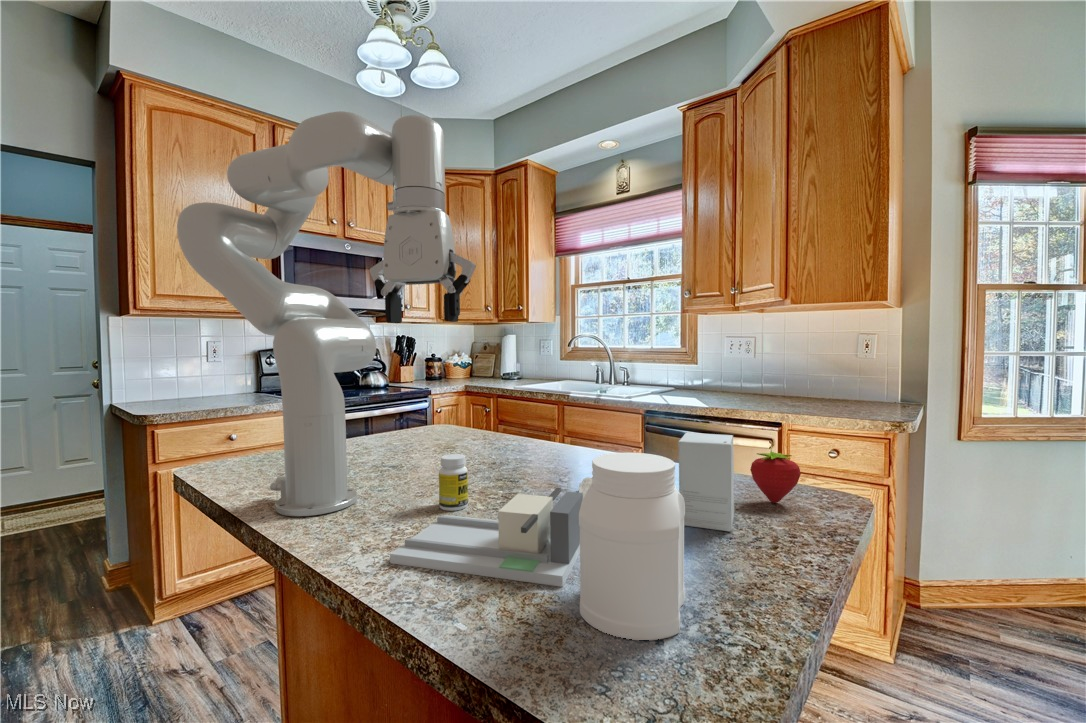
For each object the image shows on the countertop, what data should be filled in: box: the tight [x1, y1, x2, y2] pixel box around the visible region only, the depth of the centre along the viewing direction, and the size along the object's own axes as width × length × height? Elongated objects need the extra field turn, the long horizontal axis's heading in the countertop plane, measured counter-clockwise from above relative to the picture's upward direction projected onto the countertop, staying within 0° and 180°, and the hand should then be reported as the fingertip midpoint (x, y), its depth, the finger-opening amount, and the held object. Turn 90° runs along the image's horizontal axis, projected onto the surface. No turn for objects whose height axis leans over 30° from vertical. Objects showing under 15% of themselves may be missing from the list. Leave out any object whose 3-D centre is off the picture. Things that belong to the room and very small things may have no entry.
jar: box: [579, 452, 686, 641], centre depth 50 cm, size 12×10×15 cm
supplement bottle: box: [438, 453, 469, 512], centre depth 81 cm, size 5×5×8 cm
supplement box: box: [677, 432, 735, 532], centre depth 73 cm, size 7×7×13 cm
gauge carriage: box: [497, 487, 562, 554], centre depth 62 cm, size 5×15×5 cm, turn 163°
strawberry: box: [750, 443, 802, 504], centre depth 81 cm, size 6×8×10 cm
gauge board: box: [389, 491, 583, 588], centre depth 64 cm, size 22×14×7 cm, turn 73°
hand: (422, 322), depth 73 cm, fingers open, 9 cm apart
